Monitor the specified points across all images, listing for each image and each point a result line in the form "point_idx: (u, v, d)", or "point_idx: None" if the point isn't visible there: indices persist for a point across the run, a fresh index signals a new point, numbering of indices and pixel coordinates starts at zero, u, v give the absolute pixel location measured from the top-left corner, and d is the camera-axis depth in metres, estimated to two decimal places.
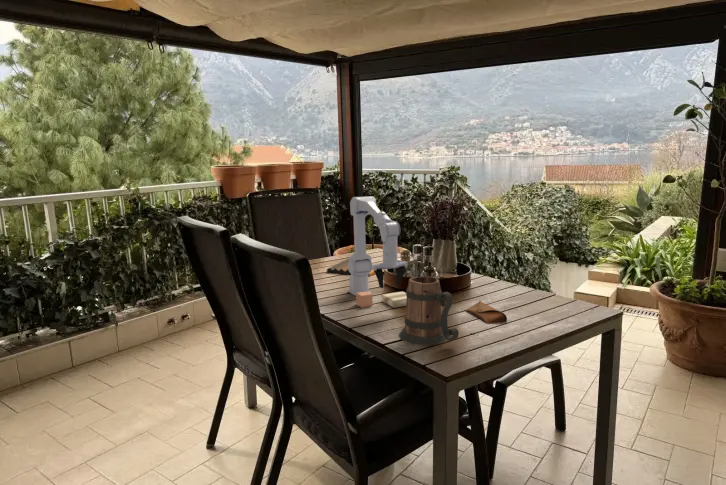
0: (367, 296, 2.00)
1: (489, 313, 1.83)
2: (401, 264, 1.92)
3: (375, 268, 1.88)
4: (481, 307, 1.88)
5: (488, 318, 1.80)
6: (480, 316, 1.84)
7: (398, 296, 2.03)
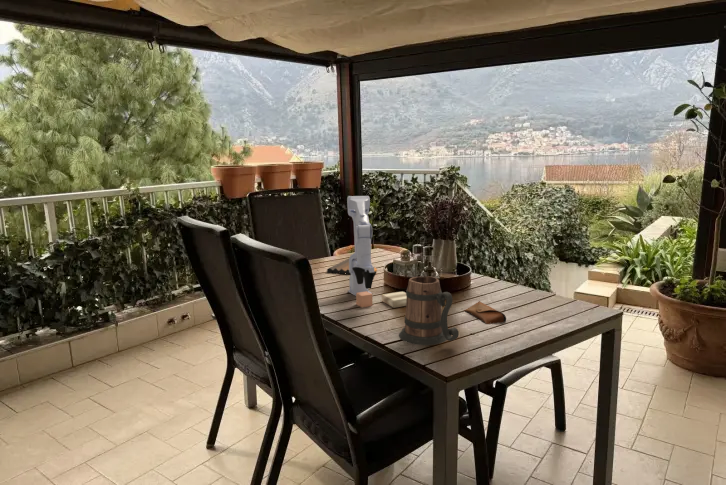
0: (367, 296, 2.00)
1: (488, 313, 1.83)
2: (364, 267, 1.95)
3: (354, 263, 2.05)
4: (480, 307, 1.88)
5: (487, 318, 1.80)
6: (479, 316, 1.84)
7: (398, 296, 2.03)
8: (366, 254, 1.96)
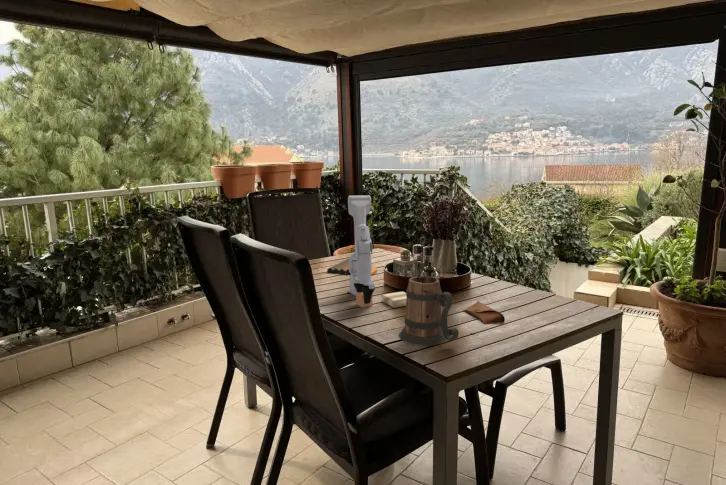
0: None
1: (487, 313, 1.83)
2: (365, 283, 1.96)
3: (355, 279, 2.06)
4: (479, 307, 1.88)
5: (485, 318, 1.80)
6: (478, 316, 1.84)
7: (398, 296, 2.03)
8: (366, 270, 1.97)
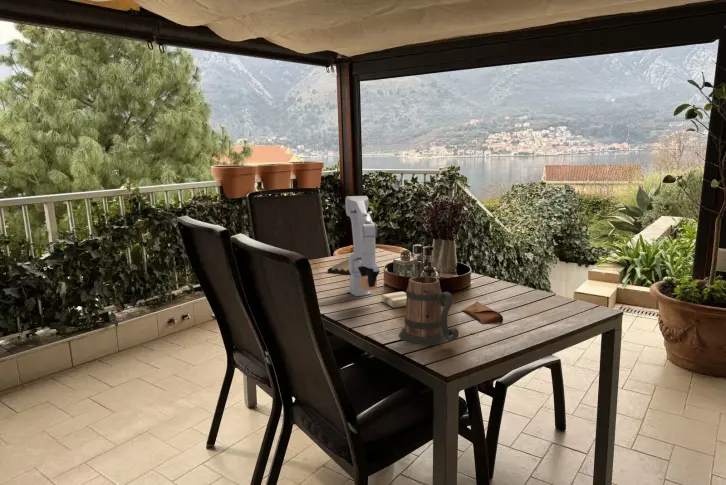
0: None
1: (485, 313, 1.83)
2: (369, 266, 1.95)
3: (359, 262, 2.06)
4: (478, 307, 1.88)
5: (484, 318, 1.80)
6: (476, 316, 1.84)
7: (398, 296, 2.03)
8: (371, 253, 1.96)
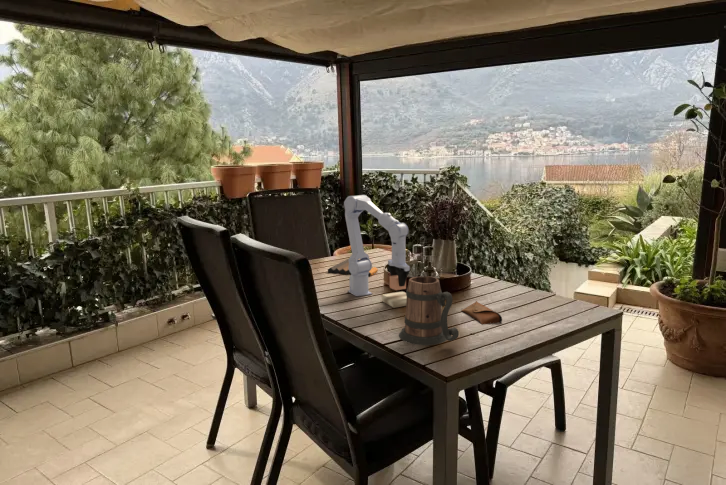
0: None
1: (484, 313, 1.83)
2: (400, 266, 1.98)
3: (388, 262, 2.08)
4: (477, 307, 1.88)
5: (483, 318, 1.80)
6: (475, 316, 1.84)
7: (398, 296, 2.03)
8: (404, 252, 2.00)
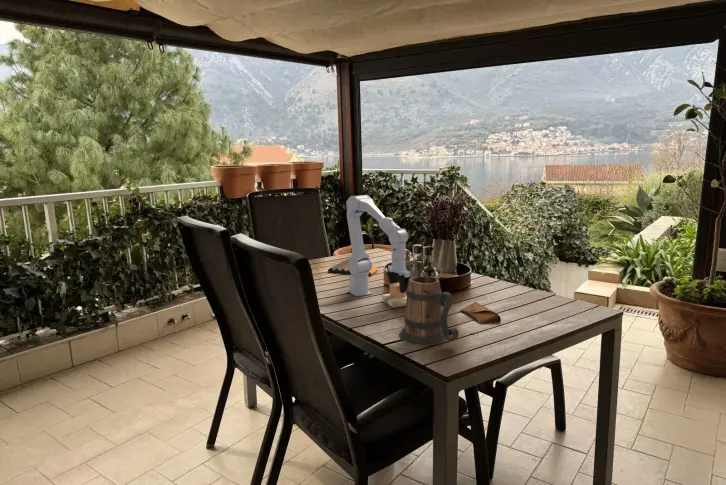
0: None
1: (483, 313, 1.83)
2: (400, 272, 1.98)
3: (388, 268, 2.08)
4: (475, 307, 1.88)
5: (481, 318, 1.80)
6: (474, 316, 1.83)
7: None
8: (404, 258, 2.00)
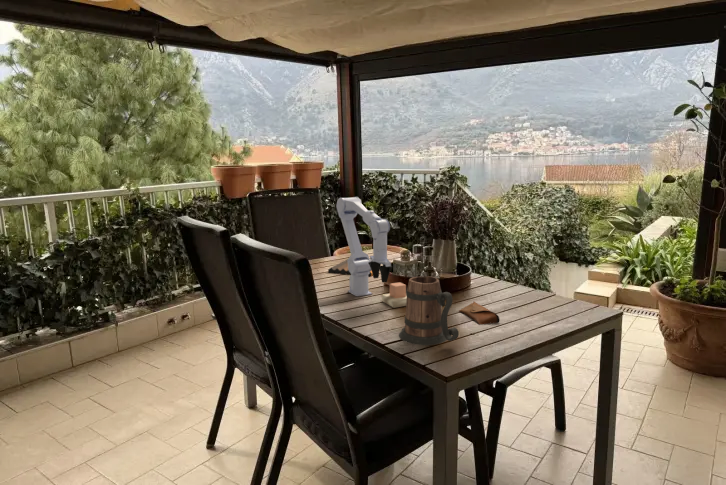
0: (401, 286, 2.02)
1: (482, 313, 1.83)
2: (381, 261, 1.99)
3: (370, 258, 2.09)
4: (474, 307, 1.88)
5: (480, 318, 1.80)
6: (473, 316, 1.83)
7: None
8: (385, 248, 2.01)
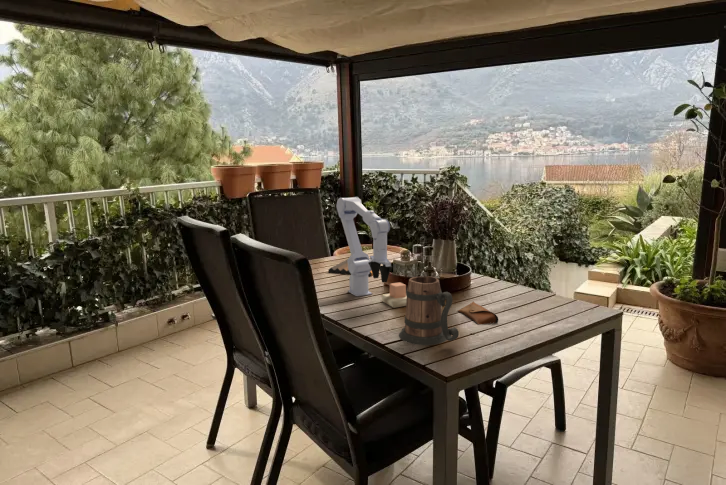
0: (401, 286, 2.02)
1: (481, 313, 1.83)
2: (381, 261, 1.99)
3: (370, 258, 2.09)
4: (473, 307, 1.88)
5: (479, 319, 1.80)
6: (472, 316, 1.83)
7: None
8: (385, 248, 2.01)
